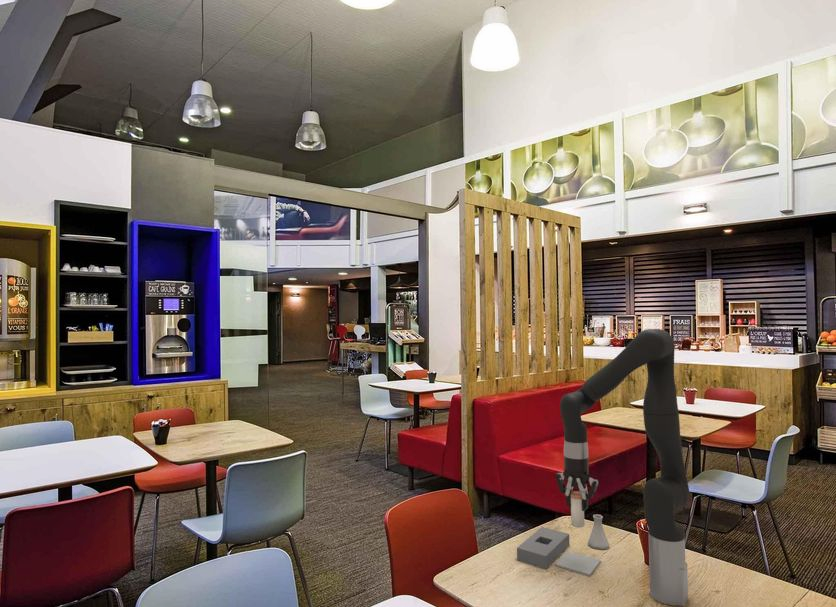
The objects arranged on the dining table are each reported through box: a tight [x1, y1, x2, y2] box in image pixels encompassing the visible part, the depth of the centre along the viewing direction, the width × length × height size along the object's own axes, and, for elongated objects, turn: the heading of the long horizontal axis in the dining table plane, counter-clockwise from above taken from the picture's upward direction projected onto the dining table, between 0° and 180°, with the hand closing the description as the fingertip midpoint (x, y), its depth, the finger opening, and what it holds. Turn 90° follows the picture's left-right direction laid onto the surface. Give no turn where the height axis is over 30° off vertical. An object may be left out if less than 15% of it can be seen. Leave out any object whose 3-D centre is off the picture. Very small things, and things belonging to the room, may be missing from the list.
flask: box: [587, 514, 610, 550], centre depth 175 cm, size 7×7×10 cm
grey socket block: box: [516, 526, 571, 570], centre depth 170 cm, size 10×20×4 cm, turn 143°
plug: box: [570, 490, 585, 529], centre depth 163 cm, size 4×4×10 cm
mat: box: [554, 550, 602, 577], centre depth 162 cm, size 11×11×1 cm
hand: (577, 508), depth 162 cm, fingers closed on plug, 4 cm apart
